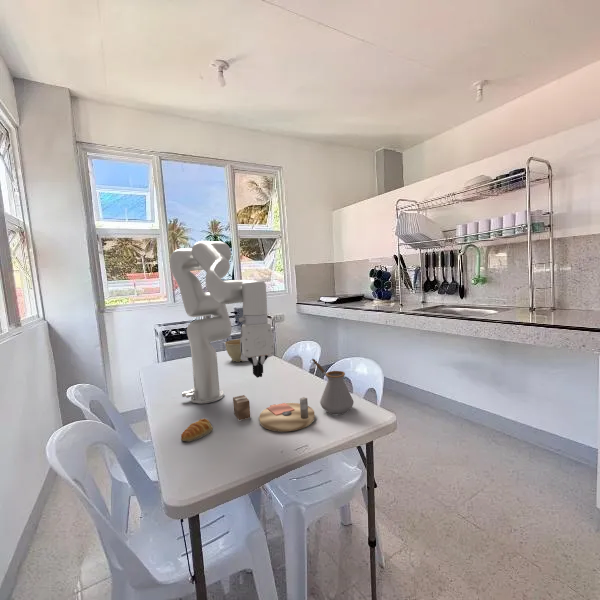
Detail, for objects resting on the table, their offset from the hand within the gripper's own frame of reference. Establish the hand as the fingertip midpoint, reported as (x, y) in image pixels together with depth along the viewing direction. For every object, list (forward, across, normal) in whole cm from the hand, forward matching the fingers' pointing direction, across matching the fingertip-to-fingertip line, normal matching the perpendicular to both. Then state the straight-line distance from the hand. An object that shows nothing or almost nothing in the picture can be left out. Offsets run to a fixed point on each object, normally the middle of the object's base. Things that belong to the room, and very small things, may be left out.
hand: (258, 375), depth 104 cm
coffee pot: (+15, +26, -1) cm, 30 cm away
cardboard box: (+16, -4, +8) cm, 18 cm away
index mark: (+15, +8, +8) cm, 19 cm away
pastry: (+16, -19, +3) cm, 25 cm away
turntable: (+15, +8, -3) cm, 18 cm away
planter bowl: (+18, +18, +81) cm, 84 cm away
